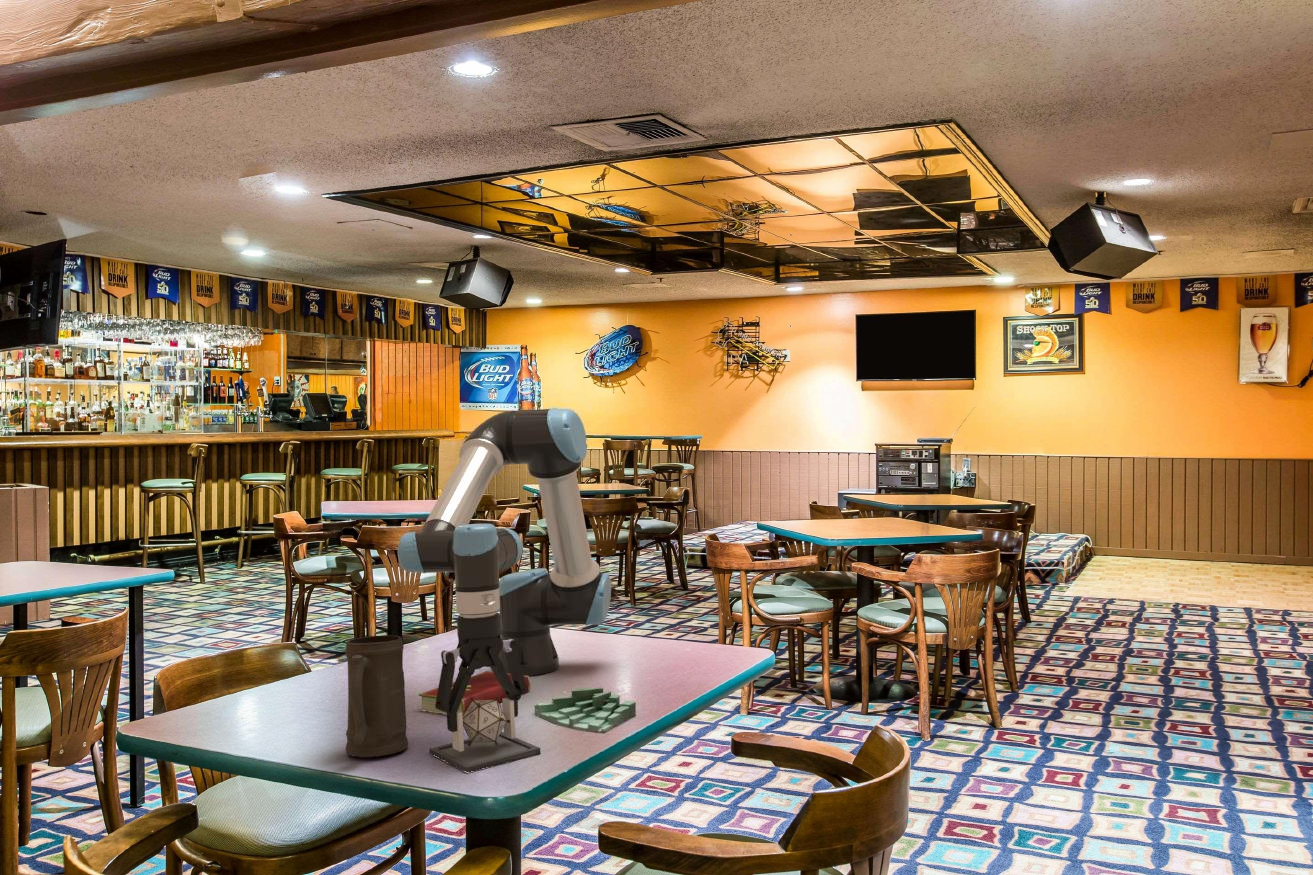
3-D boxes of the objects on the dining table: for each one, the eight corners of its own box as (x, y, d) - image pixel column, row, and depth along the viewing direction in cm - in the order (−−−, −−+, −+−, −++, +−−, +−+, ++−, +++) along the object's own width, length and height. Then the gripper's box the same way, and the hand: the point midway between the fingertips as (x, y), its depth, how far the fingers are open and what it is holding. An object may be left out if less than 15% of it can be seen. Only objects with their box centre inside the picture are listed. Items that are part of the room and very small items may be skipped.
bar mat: (429, 754, 174) (429, 748, 174) (500, 736, 183) (500, 730, 183) (467, 773, 163) (466, 767, 163) (540, 753, 172) (540, 747, 172)
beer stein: (353, 743, 182) (349, 634, 182) (413, 739, 183) (408, 630, 183) (333, 771, 167) (328, 652, 167) (399, 766, 168) (393, 648, 168)
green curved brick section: (646, 712, 196) (645, 687, 196) (604, 736, 182) (603, 709, 182) (561, 703, 206) (560, 679, 206) (515, 725, 191) (514, 699, 191)
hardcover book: (530, 694, 214) (529, 674, 214) (463, 720, 196) (462, 698, 196) (488, 688, 221) (487, 669, 221) (419, 713, 203) (418, 692, 203)
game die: (495, 761, 175) (526, 710, 177) (482, 759, 167) (514, 706, 169) (454, 734, 177) (485, 684, 179) (439, 731, 169) (472, 679, 172)
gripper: (429, 626, 163) (435, 762, 163) (544, 606, 177) (549, 733, 177) (410, 620, 169) (416, 752, 169) (522, 602, 183) (528, 724, 183)
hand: (484, 742), depth 173 cm, fingers closed on game die, 9 cm apart
